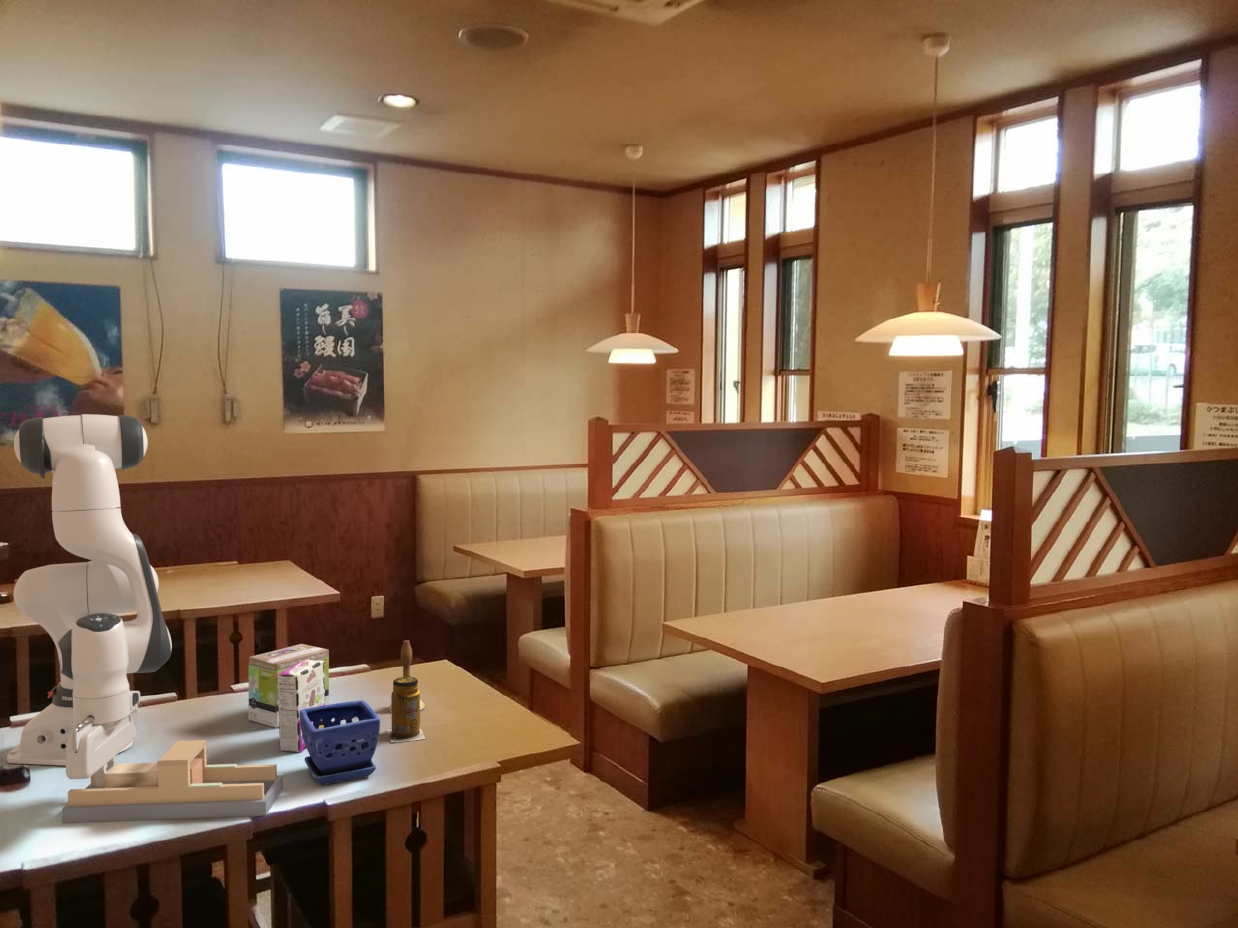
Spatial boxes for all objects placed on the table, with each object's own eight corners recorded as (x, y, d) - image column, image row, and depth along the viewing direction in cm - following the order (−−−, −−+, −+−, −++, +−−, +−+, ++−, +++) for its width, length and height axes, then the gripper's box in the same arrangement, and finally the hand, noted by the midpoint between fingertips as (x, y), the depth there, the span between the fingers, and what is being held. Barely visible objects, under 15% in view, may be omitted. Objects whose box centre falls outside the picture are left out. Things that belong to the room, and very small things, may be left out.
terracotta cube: (163, 797, 167) (162, 769, 167) (174, 785, 172) (173, 758, 172) (192, 796, 168) (191, 768, 167) (202, 784, 173) (202, 758, 172)
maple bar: (105, 798, 167) (104, 773, 167) (116, 788, 171) (115, 763, 171) (164, 796, 168) (163, 771, 167) (173, 786, 172) (173, 761, 172)
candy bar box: (305, 732, 207) (304, 658, 206) (327, 734, 206) (325, 659, 205) (277, 751, 196) (275, 673, 195) (299, 753, 195) (297, 674, 194)
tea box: (277, 729, 209) (275, 663, 208) (247, 720, 214) (246, 656, 213) (330, 710, 222) (329, 647, 221) (301, 702, 227) (300, 641, 226)
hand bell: (385, 705, 226) (384, 638, 224) (420, 700, 229) (419, 635, 228) (392, 715, 218) (392, 647, 217) (428, 710, 222) (428, 643, 220)
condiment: (419, 726, 211) (419, 673, 210) (425, 739, 203) (425, 684, 202) (386, 730, 209) (385, 676, 208) (390, 743, 201) (390, 688, 200)
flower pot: (383, 778, 183) (382, 717, 182) (312, 792, 176) (311, 729, 175) (365, 755, 194) (364, 698, 193) (298, 767, 188) (296, 708, 187)
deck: (62, 822, 163) (60, 765, 162) (93, 794, 175) (91, 741, 174) (266, 815, 166) (264, 759, 166) (283, 787, 178) (281, 735, 177)
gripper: (92, 727, 158) (95, 808, 159) (144, 689, 178) (146, 761, 179) (53, 728, 157) (56, 809, 158) (109, 690, 178) (111, 762, 178)
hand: (104, 783), depth 169 cm, fingers closed, pressing on maple bar
